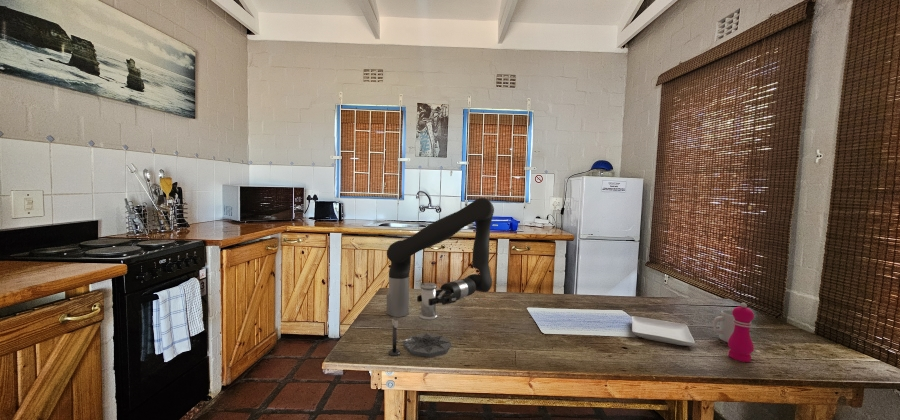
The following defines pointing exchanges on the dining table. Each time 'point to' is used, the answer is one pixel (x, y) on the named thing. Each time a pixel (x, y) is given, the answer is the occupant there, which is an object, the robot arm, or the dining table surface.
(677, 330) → the salad plate
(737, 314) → the pepper mill
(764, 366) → the dining table surface
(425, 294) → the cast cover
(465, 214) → the robot arm
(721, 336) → the mug
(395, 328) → the stand
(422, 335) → the grey octagonal star trivet
